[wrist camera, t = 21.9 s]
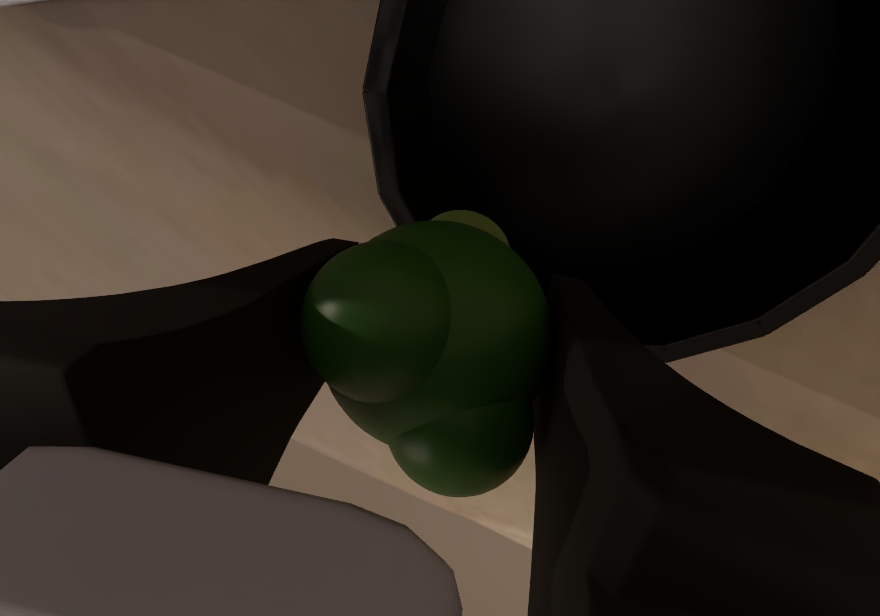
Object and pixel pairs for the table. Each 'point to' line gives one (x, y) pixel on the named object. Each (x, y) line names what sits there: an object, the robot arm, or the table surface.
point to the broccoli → (434, 347)
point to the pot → (644, 148)
